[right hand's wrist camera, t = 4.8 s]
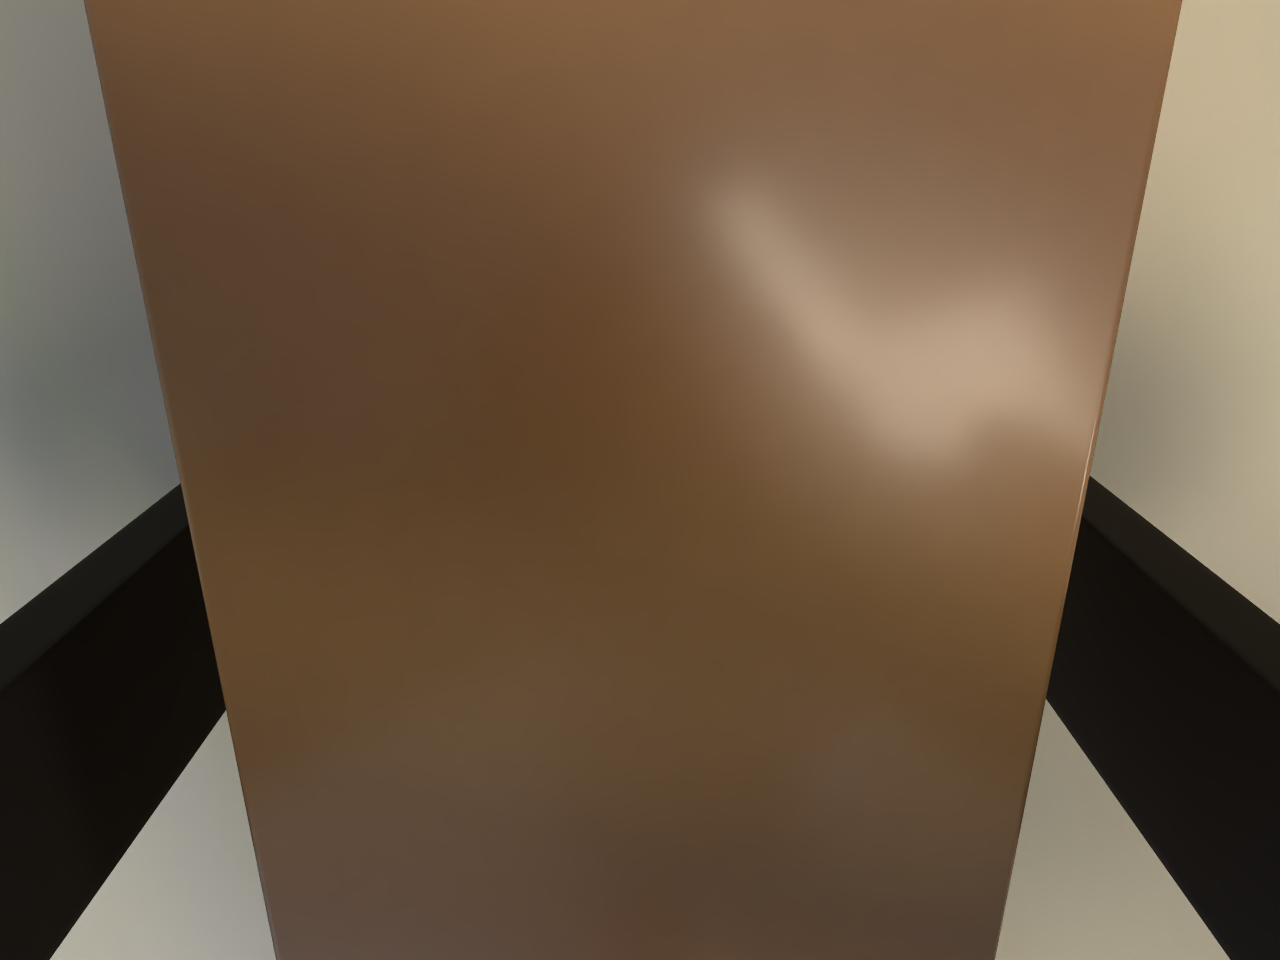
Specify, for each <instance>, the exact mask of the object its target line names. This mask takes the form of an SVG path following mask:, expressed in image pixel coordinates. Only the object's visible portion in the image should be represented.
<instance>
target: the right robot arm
mask: <svg viewBox="0 0 1280 960" xmlns="http://www.w3.org/2000/svg"><path fill="white" fill-rule="evenodd" d="M1046 699H1047V701H1048V702H1049V703H1050V705H1051V706H1052V708H1053V709H1054V710H1055V712H1056V713H1057V715H1058V716H1059V718H1060V719H1061V720H1062V722H1063V723H1064V725H1065V726H1066V727H1067V729H1068V730H1069V732H1070V733H1071V735H1072V736H1073V737H1074V739H1075V740H1076V742H1077V743H1078V744H1079V746H1080V747H1081V749H1082V750H1083V752H1084V753H1085V754H1086V756H1087V757H1088V759H1089V760H1090V761H1091V763H1092V764H1093V766H1094V767H1095V769H1096V770H1097V771H1098V773H1099V774H1100V776H1101V777H1102V778H1103V780H1104V781H1105V783H1106V784H1107V786H1108V787H1109V788H1110V790H1111V791H1112V793H1113V794H1114V795H1115V797H1116V798H1117V800H1118V801H1119V803H1120V804H1121V805H1122V807H1123V808H1124V810H1125V811H1126V812H1127V814H1128V815H1129V817H1130V818H1131V820H1132V821H1133V822H1134V824H1135V825H1136V827H1137V828H1138V829H1139V831H1140V832H1141V834H1142V835H1143V836H1144V838H1145V839H1146V841H1147V842H1148V844H1149V845H1150V846H1151V848H1152V849H1153V851H1154V852H1155V853H1156V855H1157V856H1158V858H1159V859H1160V861H1161V862H1162V863H1163V865H1164V866H1165V868H1166V869H1167V870H1168V872H1169V873H1170V875H1171V876H1172V878H1173V879H1174V880H1175V882H1176V883H1177V885H1178V886H1179V887H1180V889H1181V890H1182V892H1183V893H1184V895H1185V896H1186V897H1187V899H1188V900H1189V902H1190V903H1191V904H1192V906H1193V907H1194V909H1195V910H1196V912H1197V913H1198V914H1199V916H1200V917H1201V919H1202V920H1203V921H1204V923H1205V924H1206V926H1207V927H1208V929H1209V930H1210V931H1211V933H1212V934H1213V936H1214V937H1215V938H1216V940H1217V941H1218V943H1219V944H1220V946H1221V947H1222V948H1223V950H1224V951H1225V953H1226V954H1227V955H1228V957H1229V958H1230V960H1280V624H1279V623H1277V622H1276V621H1275V620H1273V619H1272V618H1271V617H1270V616H1268V615H1267V614H1266V613H1264V612H1263V611H1262V610H1261V609H1259V608H1258V607H1257V606H1256V605H1254V604H1253V603H1252V602H1250V601H1249V600H1248V599H1247V598H1245V597H1244V596H1243V595H1242V594H1240V593H1239V592H1238V591H1236V590H1235V589H1234V588H1233V587H1231V586H1230V585H1229V584H1227V583H1226V582H1225V581H1224V580H1222V579H1221V578H1220V577H1219V576H1217V575H1216V574H1215V573H1213V572H1212V571H1211V570H1210V569H1208V568H1207V567H1206V566H1204V565H1203V564H1202V563H1201V562H1199V561H1198V560H1197V559H1196V558H1194V557H1193V556H1192V555H1190V554H1189V553H1188V552H1187V551H1185V550H1184V549H1183V548H1181V547H1180V546H1179V545H1178V544H1176V543H1175V542H1174V541H1173V540H1171V539H1170V538H1169V537H1167V536H1166V535H1165V534H1164V533H1162V532H1161V531H1160V530H1158V529H1157V528H1156V527H1155V526H1153V525H1152V524H1151V523H1150V522H1148V521H1147V520H1146V519H1144V518H1143V517H1142V516H1141V515H1139V514H1138V513H1137V512H1135V511H1134V510H1133V509H1132V508H1130V507H1129V506H1128V505H1127V504H1125V503H1124V502H1123V501H1121V500H1120V499H1119V498H1118V497H1116V496H1115V495H1114V494H1112V493H1111V492H1110V491H1109V490H1107V489H1106V488H1105V487H1104V486H1102V485H1101V484H1100V483H1098V482H1097V481H1096V480H1095V479H1093V478H1092V477H1091V476H1089V480H1088V485H1087V490H1086V495H1085V500H1084V505H1083V511H1082V516H1081V521H1080V526H1079V531H1078V536H1077V541H1076V546H1075V552H1074V557H1073V562H1072V567H1071V572H1070V577H1069V582H1068V587H1067V592H1066V598H1065V603H1064V608H1063V613H1062V618H1061V623H1060V628H1059V633H1058V638H1057V644H1056V649H1055V654H1054V659H1053V664H1052V669H1051V674H1050V679H1049V685H1048V690H1047V695H1046ZM225 710H226V706H225V701H224V696H223V691H222V686H221V681H220V676H219V671H218V666H217V661H216V656H215V651H214V646H213V641H212V636H211V632H210V627H209V622H208V617H207V612H206V607H205V602H204V597H203V592H202V587H201V582H200V577H199V572H198V567H197V562H196V557H195V552H194V547H193V542H192V537H191V532H190V527H189V522H188V517H187V512H186V507H185V502H184V497H183V492H182V487H181V483H180V484H179V485H178V486H176V487H175V488H174V489H173V490H171V491H170V492H169V493H168V494H166V495H165V496H164V497H162V498H161V499H160V500H159V501H157V502H156V503H155V504H153V505H152V506H151V507H150V508H148V509H147V510H146V511H145V512H143V513H142V514H141V515H139V516H138V517H137V518H136V519H134V520H133V521H132V522H130V523H129V524H128V525H127V526H125V527H124V528H123V529H122V530H120V531H119V532H118V533H116V534H115V535H114V536H113V537H111V538H110V539H109V540H107V541H106V542H105V543H104V544H102V545H101V546H100V547H99V548H97V549H96V550H95V551H93V552H92V553H91V554H90V555H88V556H87V557H86V558H84V559H83V560H82V561H81V562H79V563H78V564H77V565H76V566H74V567H73V568H72V569H70V570H69V571H68V572H67V573H65V574H64V575H63V576H61V577H60V578H59V579H58V580H56V581H55V582H54V583H53V584H51V585H50V586H49V587H47V588H46V589H45V590H44V591H42V592H41V593H40V594H38V595H37V596H36V597H35V598H33V599H32V600H31V601H30V602H28V603H27V604H26V605H24V606H23V607H22V608H21V609H19V610H18V611H17V612H15V613H14V614H13V615H12V616H10V617H9V618H8V619H7V620H5V621H4V622H3V623H1V624H0V960H50V958H51V957H52V955H53V954H54V953H55V951H56V950H57V948H58V947H59V945H60V944H61V943H62V941H63V940H64V938H65V937H66V936H67V934H68V933H69V931H70V930H71V928H72V927H73V926H74V924H75V923H76V921H77V920H78V919H79V917H80V916H81V914H82V913H83V912H84V910H85V909H86V907H87V906H88V904H89V903H90V902H91V900H92V899H93V897H94V896H95V895H96V893H97V892H98V890H99V889H100V887H101V886H102V885H103V883H104V882H105V880H106V879H107V878H108V876H109V875H110V873H111V872H112V870H113V869H114V868H115V866H116V865H117V863H118V862H119V861H120V859H121V858H122V856H123V855H124V853H125V852H126V851H127V849H128V848H129V846H130V845H131V844H132V842H133V841H134V839H135V838H136V836H137V835H138V834H139V832H140V831H141V829H142V828H143V827H144V825H145V824H146V822H147V821H148V819H149V818H150V817H151V815H152V814H153V812H154V811H155V810H156V808H157V807H158V805H159V804H160V802H161V801H162V800H163V798H164V797H165V795H166V794H167V793H168V791H169V790H170V788H171V787H172V786H173V784H174V783H175V781H176V780H177V778H178V777H179V776H180V774H181V773H182V771H183V770H184V769H185V767H186V766H187V764H188V763H189V761H190V760H191V759H192V757H193V756H194V754H195V753H196V752H197V750H198V749H199V747H200V746H201V744H202V743H203V742H204V740H205V739H206V737H207V736H208V735H209V733H210V732H211V730H212V729H213V727H214V726H215V725H216V723H217V722H218V720H219V719H220V718H221V716H222V715H223V713H224V712H225Z"/></svg>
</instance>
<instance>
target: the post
mask: <svg viewBox="0 0 1280 960" xmlns="http://www.w3.org/2000/svg"><path fill="white" fill-rule="evenodd" d="M84 3H85V8H86V13H87V18H88V23H89V28H90V33H91V38H92V43H93V48H94V53H95V58H96V63H97V68H98V73H99V78H100V83H101V88H102V93H103V98H104V103H105V108H106V113H107V118H108V123H109V128H110V133H111V138H112V143H113V148H114V153H115V158H116V163H117V168H118V173H119V178H120V183H121V188H122V193H123V198H124V203H125V208H126V213H127V218H128V223H129V228H130V233H131V238H132V243H133V248H134V253H135V258H136V263H137V268H138V273H139V278H140V283H141V288H142V292H143V297H144V302H145V307H146V312H147V317H148V322H149V327H150V332H151V337H152V342H153V347H154V352H155V357H156V362H157V367H158V372H159V377H160V382H161V387H162V392H163V397H164V402H165V407H166V412H167V417H168V422H169V427H170V432H171V437H172V442H173V447H174V452H175V457H176V462H177V467H178V472H179V477H180V482H181V487H182V492H183V497H184V502H185V507H186V512H187V517H188V522H189V527H190V532H191V537H192V542H193V547H194V552H195V557H196V562H197V567H198V572H199V577H200V582H201V587H202V592H203V597H204V602H205V607H206V612H207V617H208V622H209V627H210V632H211V636H212V641H213V646H214V651H215V656H216V661H217V666H218V671H219V676H220V681H221V686H222V691H223V696H224V701H225V706H226V711H227V716H228V721H229V726H230V731H231V736H232V741H233V746H234V751H235V756H236V761H237V766H238V771H239V776H240V781H241V786H242V791H243V796H244V801H245V806H246V811H247V816H248V821H249V826H250V831H251V836H252V841H253V846H254V851H255V856H256V861H257V866H258V871H259V876H260V881H261V886H262V891H263V896H264V901H265V906H266V911H267V916H268V921H269V926H270V931H271V936H272V941H273V946H274V951H275V956H276V960H995V956H996V950H997V945H998V940H999V935H1000V930H1001V925H1002V920H1003V915H1004V910H1005V904H1006V899H1007V894H1008V889H1009V884H1010V879H1011V874H1012V869H1013V864H1014V858H1015V853H1016V848H1017V843H1018V838H1019V833H1020V828H1021V823H1022V817H1023V812H1024V807H1025V802H1026V797H1027V792H1028V787H1029V782H1030V777H1031V771H1032V766H1033V761H1034V756H1035V751H1036V746H1037V741H1038V736H1039V731H1040V725H1041V720H1042V715H1043V710H1044V705H1045V700H1046V695H1047V690H1048V685H1049V679H1050V674H1051V669H1052V664H1053V659H1054V654H1055V649H1056V644H1057V638H1058V633H1059V628H1060V623H1061V618H1062V613H1063V608H1064V603H1065V598H1066V592H1067V587H1068V582H1069V577H1070V572H1071V567H1072V562H1073V557H1074V552H1075V546H1076V541H1077V536H1078V531H1079V526H1080V521H1081V516H1082V511H1083V505H1084V500H1085V495H1086V490H1087V485H1088V480H1089V475H1090V470H1091V465H1092V459H1093V454H1094V449H1095V444H1096V439H1097V434H1098V429H1099V424H1100V419H1101V413H1102V408H1103V403H1104V398H1105V393H1106V388H1107V383H1108V378H1109V373H1110V367H1111V362H1112V357H1113V352H1114V347H1115V342H1116V337H1117V332H1118V326H1119V321H1120V316H1121V311H1122V306H1123V301H1124V296H1125V291H1126V286H1127V280H1128V275H1129V270H1130V265H1131V260H1132V255H1133V250H1134V245H1135V240H1136V234H1137V229H1138V224H1139V219H1140V214H1141V209H1142V204H1143V199H1144V194H1145V188H1146V183H1147V178H1148V173H1149V168H1150V163H1151V158H1152V153H1153V147H1154V142H1155V137H1156V132H1157V127H1158V122H1159V117H1160V112H1161V107H1162V101H1163V96H1164V91H1165V86H1166V81H1167V76H1168V71H1169V66H1170V61H1171V55H1172V50H1173V45H1174V40H1175V35H1176V30H1177V25H1178V20H1179V14H1180V9H1181V4H1182V0H84Z"/></svg>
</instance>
